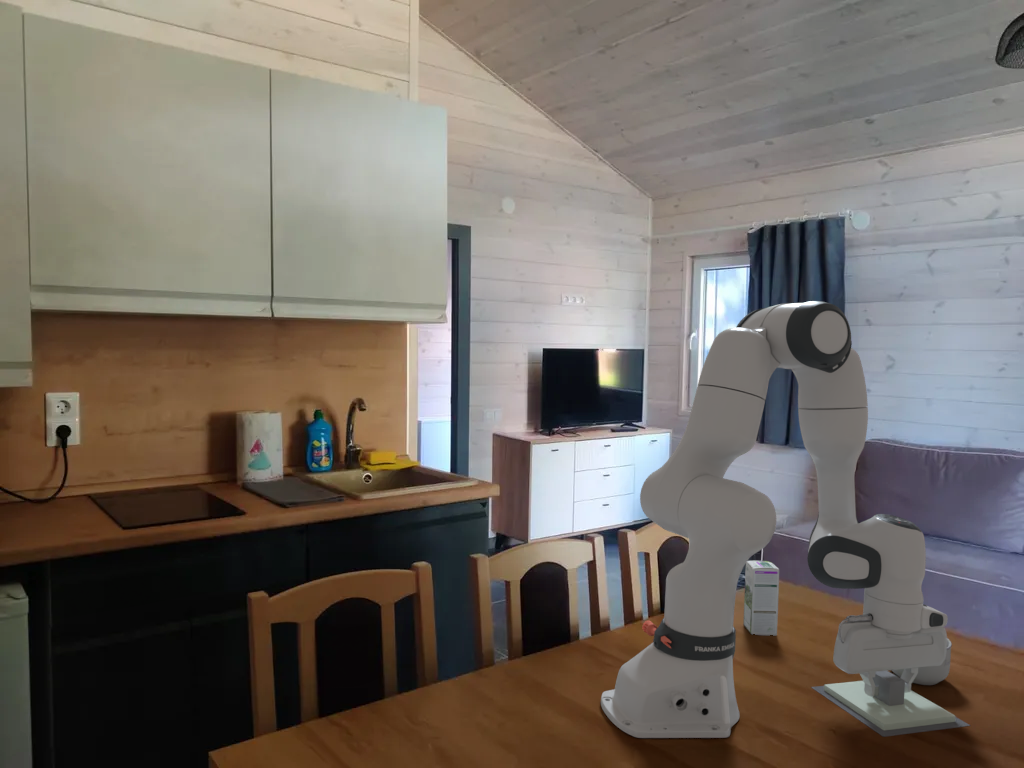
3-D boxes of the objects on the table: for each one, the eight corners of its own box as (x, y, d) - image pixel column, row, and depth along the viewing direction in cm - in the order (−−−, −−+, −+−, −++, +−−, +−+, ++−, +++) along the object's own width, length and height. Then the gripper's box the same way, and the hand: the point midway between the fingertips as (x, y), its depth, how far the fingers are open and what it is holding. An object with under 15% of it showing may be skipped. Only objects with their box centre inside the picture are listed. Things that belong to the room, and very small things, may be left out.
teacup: (958, 695, 129) (961, 651, 129) (892, 687, 131) (895, 644, 131) (930, 663, 143) (932, 623, 143) (870, 656, 145) (873, 617, 145)
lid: (883, 730, 115) (885, 699, 115) (823, 690, 128) (825, 662, 128) (955, 721, 119) (957, 691, 118) (889, 683, 132) (891, 656, 132)
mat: (883, 739, 113) (883, 736, 113) (810, 689, 129) (810, 687, 129) (970, 727, 118) (970, 725, 118) (889, 681, 134) (890, 679, 134)
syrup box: (777, 636, 154) (781, 568, 153) (749, 635, 154) (753, 567, 154) (768, 626, 160) (772, 560, 159) (741, 624, 160) (745, 559, 159)
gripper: (853, 623, 117) (849, 707, 118) (956, 615, 122) (950, 696, 123) (827, 609, 123) (822, 689, 124) (925, 602, 129) (920, 679, 129)
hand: (887, 693), depth 123 cm, fingers open, 5 cm apart
